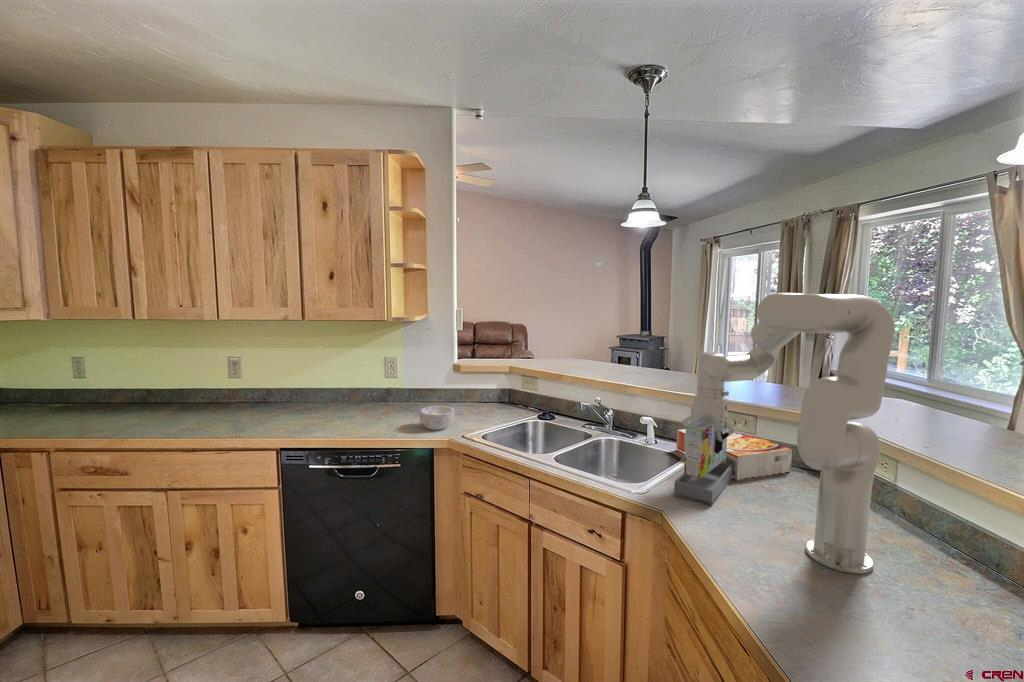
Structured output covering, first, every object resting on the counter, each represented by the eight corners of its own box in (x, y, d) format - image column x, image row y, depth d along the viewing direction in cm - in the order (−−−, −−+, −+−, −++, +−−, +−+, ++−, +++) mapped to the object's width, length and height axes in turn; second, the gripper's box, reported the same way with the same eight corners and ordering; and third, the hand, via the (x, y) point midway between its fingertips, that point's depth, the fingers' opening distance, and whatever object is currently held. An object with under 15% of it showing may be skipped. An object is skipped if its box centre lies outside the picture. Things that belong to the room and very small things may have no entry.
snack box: (708, 455, 153) (711, 411, 152) (726, 459, 150) (729, 414, 148) (682, 474, 138) (685, 425, 136) (701, 480, 134) (704, 429, 132)
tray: (711, 506, 131) (712, 491, 130) (673, 496, 137) (674, 481, 137) (732, 478, 151) (733, 464, 151) (698, 470, 158) (699, 457, 157)
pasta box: (738, 456, 149) (677, 429, 177) (736, 480, 150) (676, 450, 178) (792, 449, 156) (725, 425, 184) (790, 472, 157) (724, 444, 185)
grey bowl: (451, 432, 197) (451, 414, 196) (416, 432, 197) (416, 413, 196) (456, 422, 212) (456, 405, 211) (423, 422, 212) (423, 405, 212)
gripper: (743, 394, 139) (739, 453, 141) (684, 387, 149) (681, 441, 151) (738, 399, 133) (733, 460, 135) (677, 390, 143) (674, 447, 145)
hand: (706, 449), depth 143 cm, fingers closed on snack box, 5 cm apart
